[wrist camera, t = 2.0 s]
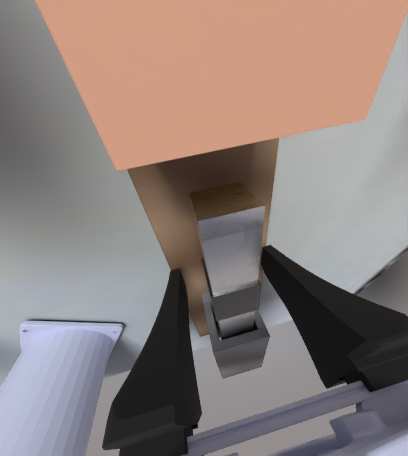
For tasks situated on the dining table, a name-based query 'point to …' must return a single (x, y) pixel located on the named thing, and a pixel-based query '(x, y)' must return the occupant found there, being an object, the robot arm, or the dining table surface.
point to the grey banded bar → (230, 253)
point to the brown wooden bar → (189, 240)
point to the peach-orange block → (220, 68)
